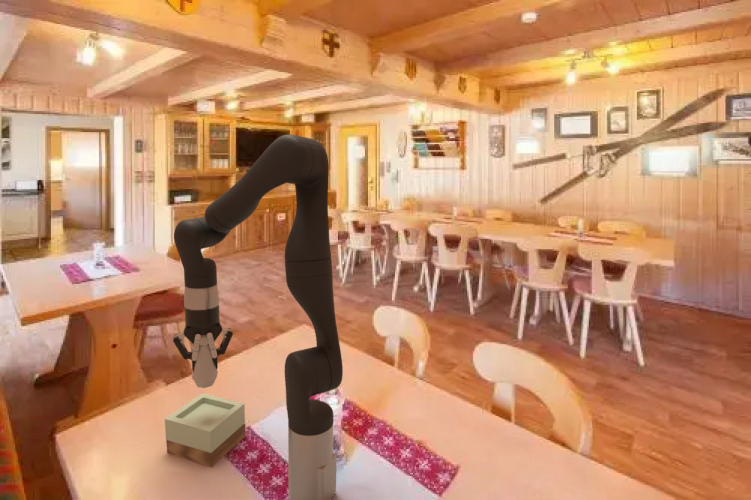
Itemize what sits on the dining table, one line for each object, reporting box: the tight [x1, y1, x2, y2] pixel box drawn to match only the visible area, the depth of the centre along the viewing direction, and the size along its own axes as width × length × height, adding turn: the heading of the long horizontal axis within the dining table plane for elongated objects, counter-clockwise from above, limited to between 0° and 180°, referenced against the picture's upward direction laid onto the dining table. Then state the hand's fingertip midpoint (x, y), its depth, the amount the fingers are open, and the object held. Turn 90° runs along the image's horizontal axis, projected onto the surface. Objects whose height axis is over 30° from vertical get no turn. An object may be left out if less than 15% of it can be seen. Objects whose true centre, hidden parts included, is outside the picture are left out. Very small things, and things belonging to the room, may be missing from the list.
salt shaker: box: [191, 335, 218, 389], centre depth 111 cm, size 6×6×13 cm
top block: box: [164, 392, 246, 453], centre depth 114 cm, size 13×13×6 cm
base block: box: [165, 423, 247, 468], centre depth 115 cm, size 13×13×4 cm
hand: (205, 371), depth 111 cm, fingers closed on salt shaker, 3 cm apart
